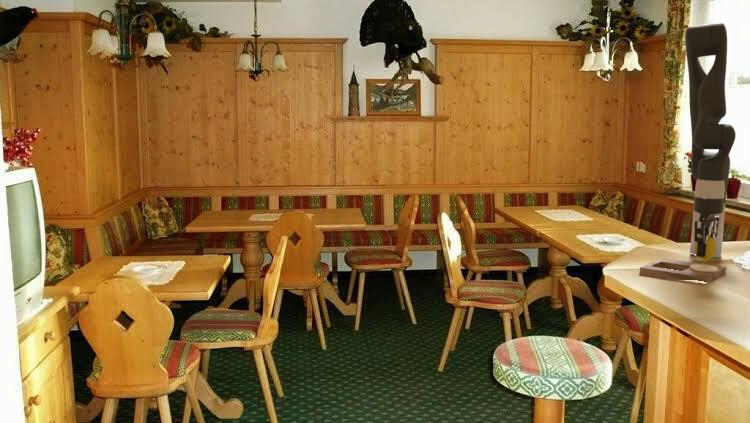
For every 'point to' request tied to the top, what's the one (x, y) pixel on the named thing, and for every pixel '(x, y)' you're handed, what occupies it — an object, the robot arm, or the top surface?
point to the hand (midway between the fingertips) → (704, 254)
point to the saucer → (703, 268)
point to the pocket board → (679, 270)
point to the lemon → (707, 249)
